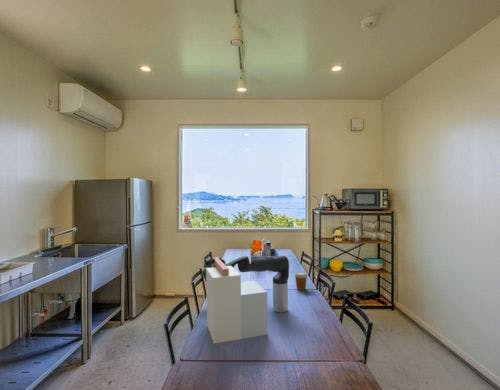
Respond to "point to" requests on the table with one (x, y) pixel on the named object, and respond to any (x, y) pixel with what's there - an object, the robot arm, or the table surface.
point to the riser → (234, 306)
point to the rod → (221, 266)
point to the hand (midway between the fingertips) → (217, 259)
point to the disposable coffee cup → (301, 280)
